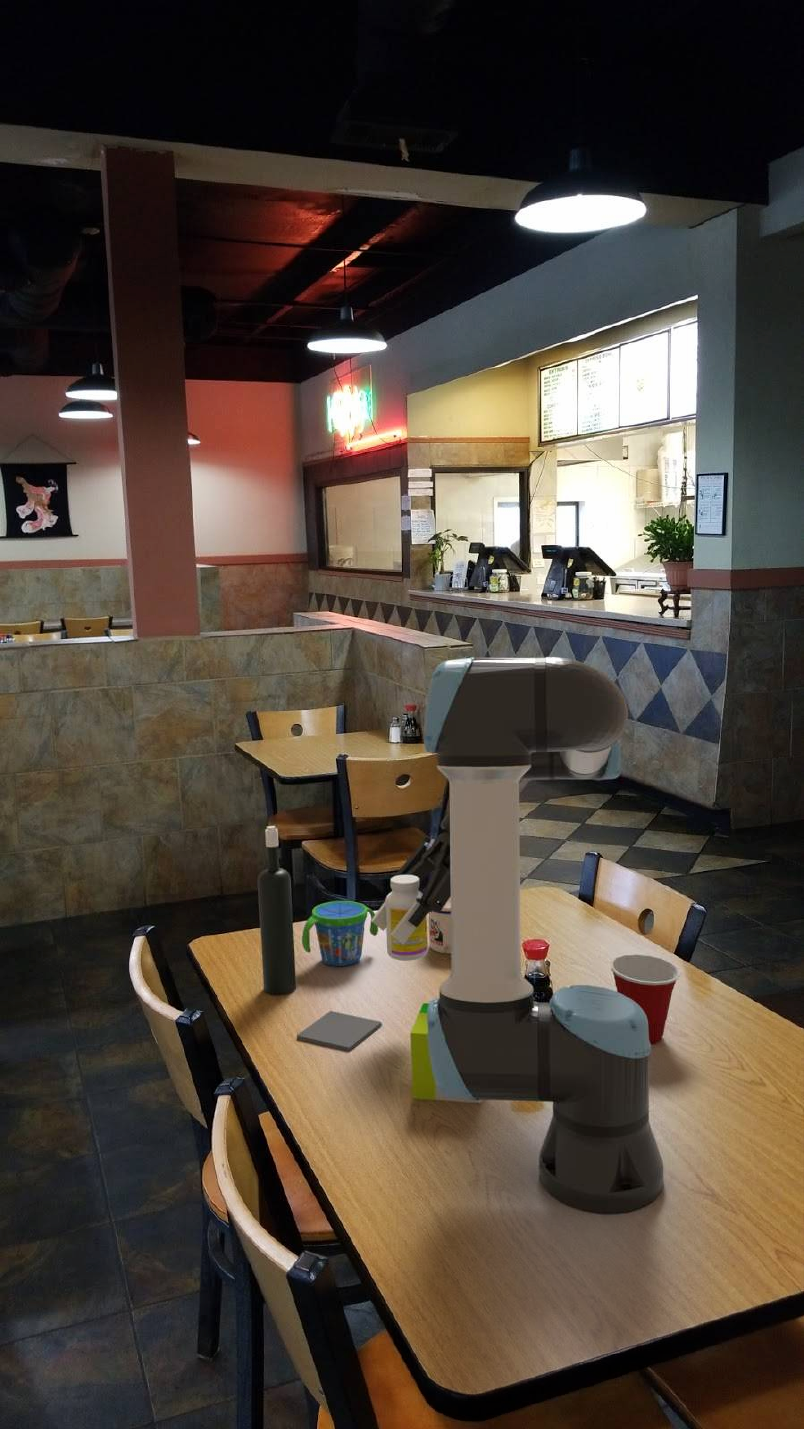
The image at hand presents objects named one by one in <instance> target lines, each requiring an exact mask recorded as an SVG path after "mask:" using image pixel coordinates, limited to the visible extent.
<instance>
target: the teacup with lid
mask: <svg viewBox="0 0 804 1429" xmlns="http://www.w3.org/2000/svg"><path fill="white" fill-rule="evenodd" d="M438 903H439V901H438ZM428 934H429V935H428V936H429V938H428V939H429V947H430V949H431V950H433V951H435V952H437V953H440V954H449V955H451V896H450V898H449V900H448V901H447V903H446V904H445V906H444V907H443V909H442V910H441V911H440V912H437V911H432V912H429V913H428Z"/></svg>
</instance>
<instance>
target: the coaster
mask: <svg viewBox="0 0 804 1429" xmlns="http://www.w3.org/2000/svg"><path fill="white" fill-rule="evenodd" d="M382 1025H383V1024H382V1021H380V1020H379V1021H378V1020H374V1019H370V1018H366V1017H365V1018H364V1017H361V1016H356V1015H351V1014H347V1013H342V1012H337V1011H332V1010H329V1011H328V1012H327V1013H326V1014H324V1015H323V1016H321V1017H320V1018H318V1019H317V1020H316V1021H314V1022H313V1023H312V1024H310V1025H309V1026H308V1027H306V1028H305V1029H303V1030H301V1032H299V1033H298V1034H296V1040H301V1041H305V1042H310V1043H312V1044H318V1045H322V1046H326V1047H329V1048H330V1047H331V1048H334V1049H338V1050H339V1049H340V1050H343V1051H347V1052H350V1051H352V1050H353V1049H354V1048H356V1046H358V1045H359V1044H360V1043H362V1042H363V1041H364V1040H365V1039H366V1038H368V1037H369V1036H370V1035H372V1034H373V1033H374V1032H375V1031H376V1029H377V1030H378V1029H379V1028H380V1027H382Z"/></svg>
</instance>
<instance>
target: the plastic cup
mask: <svg viewBox="0 0 804 1429" xmlns="http://www.w3.org/2000/svg"><path fill="white" fill-rule="evenodd" d="M609 964H610V970H611V971H612V973H613V978H614V985H615V987H616V992H618V993H621V994H623V995H625V996H626V997H628V998H630V999H632V1000H633V1001H635V1002H636V1003H637V1004H638V1005H639V1006H640V1007H641V1008H642V1009H643V1011H644V1013H645V1014H646V1017H647V1020H648V1031H649V1041H650V1044H651V1046H652V1045H656V1044H659V1043H660V1042H661V1041H662V1040H663V1036H664V1032H665V1028H666V1027H665V1026H666V1023H667V1022H666V1021H667V1018H668V1015H669V1014H668V1013H669V1009H670V1004H671V999H672V994H673V991H674V988H675V984H676V983H677V981H678V979H679V977H681V975H682V974H681V971H680V968H679V967H678V966H677V965H676V964H674V963H673V962H671V961H668V960H667V959H664V958H662V957H658V956H653V955H650V954H640V953H639V954H638V953H631V954H628V953H627V954H622V955H619V956H616V957H613V959H611V961H610V962H609Z"/></svg>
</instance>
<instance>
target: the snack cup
mask: <svg viewBox="0 0 804 1429" xmlns="http://www.w3.org/2000/svg"><path fill="white" fill-rule="evenodd" d="M368 913H369V915H370V918H371V919H372V918H373V917H374V916H375V914H376V913H375V912H374V910H372V909H371V908H369V907H368V906H366V905H365V904H363V903H360V902H356V901H351V900H335V901H328V902H327V901H326V902H324V903H320V904H318V905H316V906H314V908H313V909H312V911H311V916H310V917H309V918H308V919H307V920H306V922H305V924H304V927H303V929H302V930H303V931H302V937H301V943H302V947H303V950H304V951H305V952H307V953H311V951H312V950H311V947H310V944H311V942H310V930H311V929H312V927H313V926H314V925H315V931H316V936H317V941H318V947H319V950H320V956H321V959H322V962H323V964H325V965H329V966H335V967H345V966H350V965H352V964H354V963H359V962H360V959H361V958H362V954H363V952H362V951H363V943H364V936H365V923H366V920H367V917H368ZM371 919H370V925H369V933H370V934H371V935H372V936H373V937H376V936H377V935H378V932H379V927H378V926H377V925H375V924H374V923H373V922H372V921H371Z"/></svg>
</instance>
